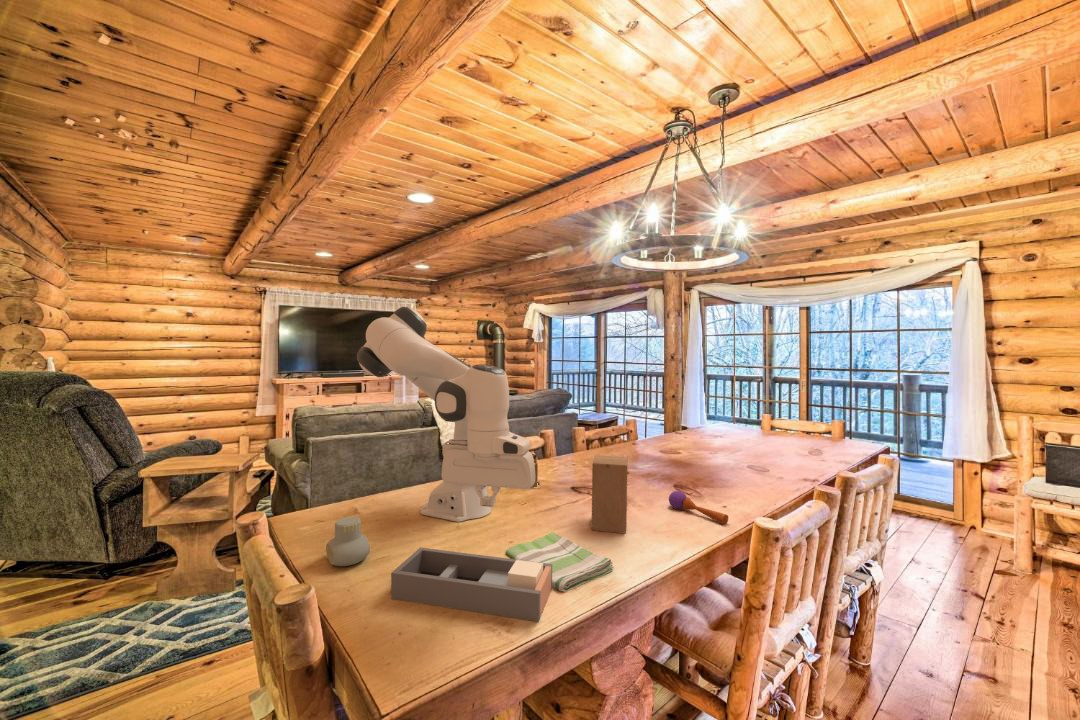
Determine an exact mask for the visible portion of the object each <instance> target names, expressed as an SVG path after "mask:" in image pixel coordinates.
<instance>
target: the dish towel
mask: <svg viewBox="0 0 1080 720" xmlns="http://www.w3.org/2000/svg"><path fill="white" fill-rule="evenodd" d="M505 554H506V555H507V556H508V557H509V559H516V560H524V561H532V562H540V563H548V564H552V588H554V589H556V590H558V591H559V592H563V593H566V592H568V591H571V590H573V589H576V588H578V587H580V586H583V585H585V584H587V583H589V582H591V581H594V580H595V579H597V578H601V577H603V576H605V575H606V574H608V573H609V574H610V573H612V572H613V568H614V565H613V563H614V562H612V559H611V558H608V557H606V556H601V555H599V554H596V553H594V552H593V551H591V550H589V549H587V548H585V547H582V546H580V545H578V544H576V543H575V542H573V541H571V540H570V539H568V538H566V537H565V536H562V535H560V534H557V533H555V532H553V531H552V532H550V533H548V534H546V535H544V536H542V537H540V538H537V539H534V540H532V541H527V542H521V543H517V544H515V545H513V546H511V547H509V548H507V549H505Z"/></svg>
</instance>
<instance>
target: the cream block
mask: <svg viewBox="0 0 1080 720" xmlns="http://www.w3.org/2000/svg"><path fill="white" fill-rule="evenodd" d="M542 573H543V563H537V562H529V561H522V560H516V561H515V563H514V564H513V566H512V567H511V569H510V571H509V572H508V586H511V587H518V588H525V589H532V590H535V588H536V586H537V584H538V582H539V580H540V577H541V575H542Z"/></svg>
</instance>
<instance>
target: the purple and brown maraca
mask: <svg viewBox="0 0 1080 720" xmlns="http://www.w3.org/2000/svg"><path fill="white" fill-rule="evenodd" d="M668 502H669V503H668V504H669V505H670V506H671V507H672V508H673V509H675V510H681V511H682V510H684V511H690V510H696V511H697V512H699V513H701V514H703V515H704V516H706V517H708V518H710V519H712V520H713V521H715V522H717V523H718V524H720V525H723V526H725V525H727V524H728V522H729V515H728V514H725V513H722V512H718V511H715V510H711V509H708V508H704V507H701V506H697V505H696V504H695V503H694V501H692V499H691V498H690V497H687V495H686V494H685V493H684V492H682V491H679V490H674V491H672V492H671V493H670V494H669V497H668Z"/></svg>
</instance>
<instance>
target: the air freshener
mask: <svg viewBox="0 0 1080 720" xmlns="http://www.w3.org/2000/svg"><path fill="white" fill-rule="evenodd" d="M361 527H362V522H361V519H360V518H359V517H357V516H348V517H343V518H339V519H338V520H336V521H335V523H334V537H333V538H331V539H330V540H329V541H328V542H327V543H326V547H325V553H326V556H327V557H326V558H327V559H328V562H329V564H330V565H334V566H336V567H349V566H353V565H355V564H358V563H359V562H361V561H363V560H364V559H365V558H367V557H368V555H369V554H370V551H371V550H370V548H371V547H370V543H369V539H368V537H366V535H365V534H362V529H361Z"/></svg>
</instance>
